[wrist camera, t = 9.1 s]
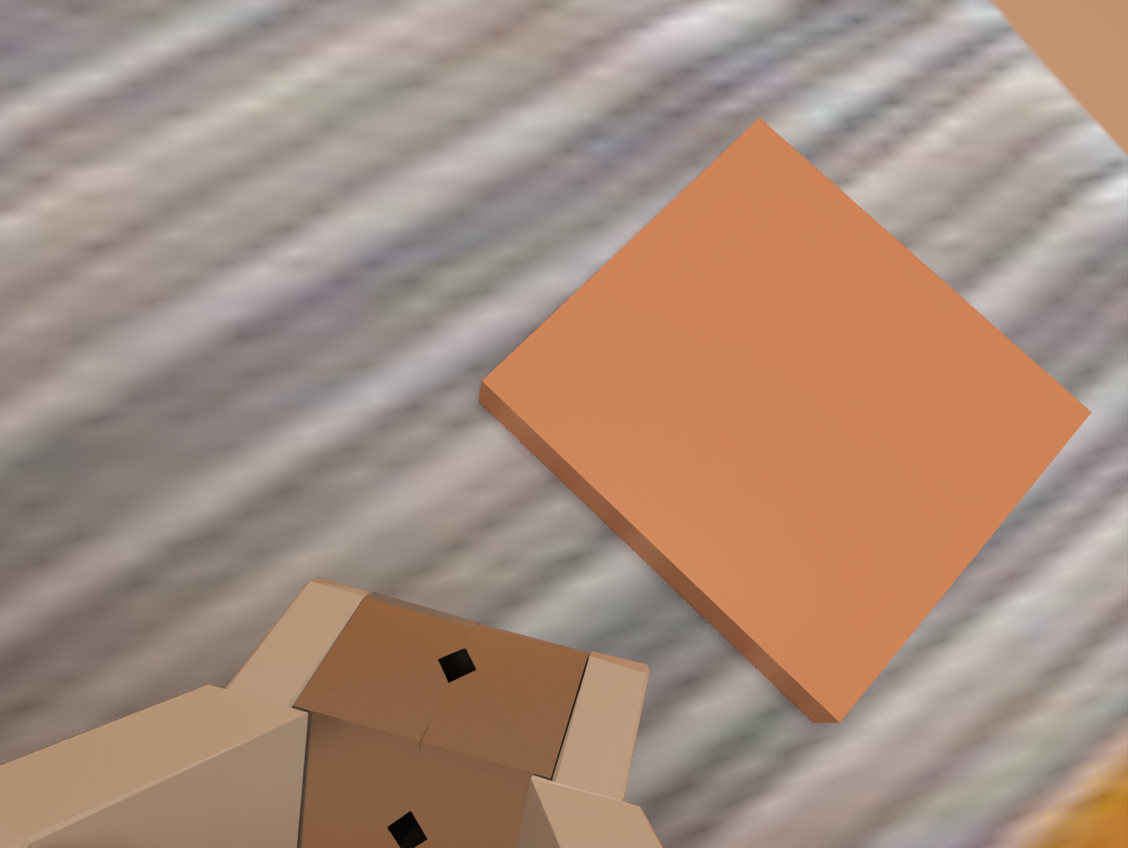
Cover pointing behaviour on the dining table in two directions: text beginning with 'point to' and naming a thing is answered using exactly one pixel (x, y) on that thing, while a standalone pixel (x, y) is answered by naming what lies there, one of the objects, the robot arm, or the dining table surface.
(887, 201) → the dining table surface
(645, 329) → the tile
